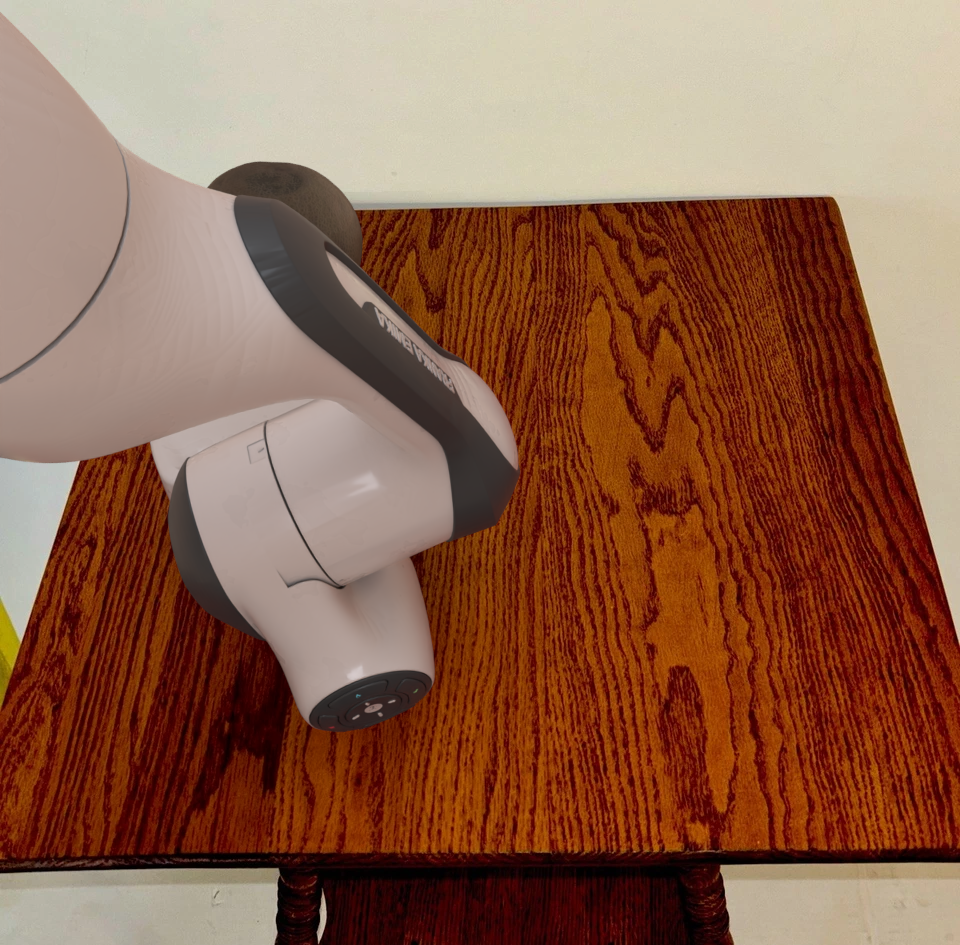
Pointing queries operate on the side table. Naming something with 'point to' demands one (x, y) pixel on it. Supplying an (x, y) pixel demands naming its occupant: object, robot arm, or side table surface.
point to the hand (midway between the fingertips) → (288, 367)
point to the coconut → (299, 198)
